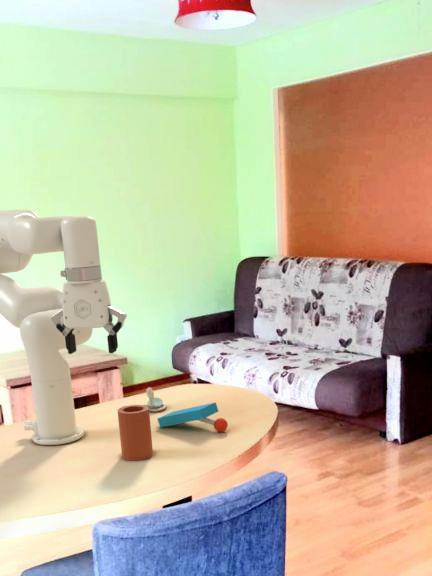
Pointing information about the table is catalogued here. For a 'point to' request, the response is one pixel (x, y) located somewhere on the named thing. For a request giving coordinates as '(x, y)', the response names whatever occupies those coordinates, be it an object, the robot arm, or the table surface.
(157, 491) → the table surface
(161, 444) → the table surface
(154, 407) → the pacifier
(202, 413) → the lever
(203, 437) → the table surface
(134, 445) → the jar
